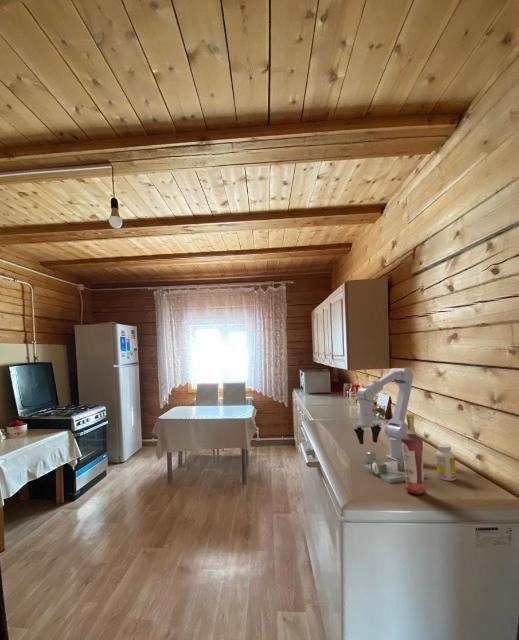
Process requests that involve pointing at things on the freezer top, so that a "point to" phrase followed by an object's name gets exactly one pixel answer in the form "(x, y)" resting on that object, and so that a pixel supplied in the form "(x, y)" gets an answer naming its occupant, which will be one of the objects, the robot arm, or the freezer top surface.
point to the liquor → (413, 459)
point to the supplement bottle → (445, 463)
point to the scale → (387, 471)
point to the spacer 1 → (370, 457)
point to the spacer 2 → (400, 464)
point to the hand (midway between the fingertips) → (368, 443)
